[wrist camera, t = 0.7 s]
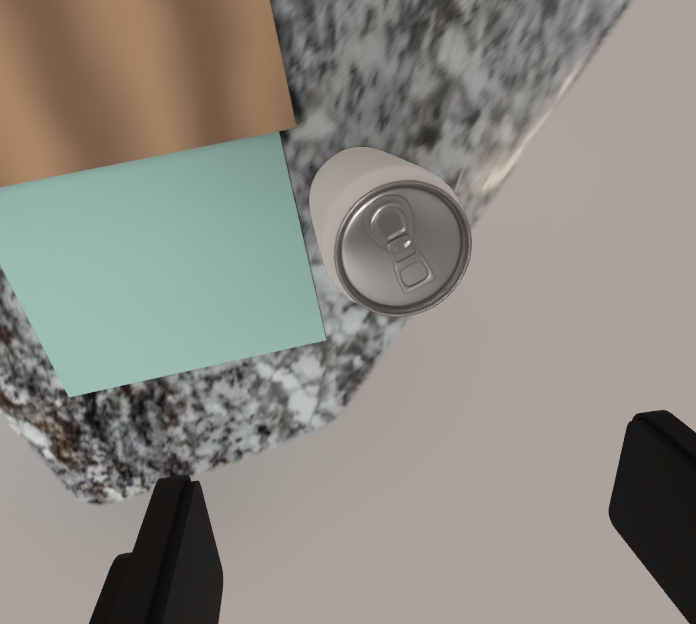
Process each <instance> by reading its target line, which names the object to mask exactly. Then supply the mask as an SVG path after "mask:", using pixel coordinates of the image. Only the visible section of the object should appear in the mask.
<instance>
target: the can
mask: <svg viewBox="0 0 696 624" xmlns="http://www.w3.org/2000/svg"><path fill="white" fill-rule="evenodd" d="M309 207H310V214H311V218H312V222H313V227H314V230H315V234H316V238H317V242H318V246H319V249H320V253H321V256H322V260H323V263H324V265H325V268H326V270H327V273H328V274H329V276H330V278H331V280H332V281H333V283H334V284H335V285H336V287H337V288H338V289H339V290H340V291H341V292H342V293H343V294H344V295H345V296H347V297H348V298H349V299H351V300H352V301H354V302H355V303H357V304H359V305H360V306H362V307H363V308H365V309H367V310H369V311H371V312H374V313H376V314H380V315H384V316H391V317H404V316H411V315H415V314H419V313H421V312H424V311H427V310H429V309H431V308H433V307H434V306H436V305H438V304H439V303H440V302H442V301H443V300H444V299H445V298H446V297H448V296H449V295H450V294H451V293H452V292H453V291H454V289H455V288H456V287H457V285H458V284H459V283H460V281H461V279H462V277H463V276H464V274H465V272H466V269H467V267H468V264H469V260H470V256H471V248H472V238H471V230H470V226H469V223H468V220H467V217H466V215H465V213H464V210H463V207H462V205H461V203H460V201H459V199H458V197H457V196H456V194H455V193H454V191H453V190H452V189H451V188H450V187H449V186H448V185H447V184H446V183H445V182H444V181H443V180H442V179H441V178H439V177H438V176H437V175H435V174H433V173H432V172H430V171H428V170H426V169H424V168H422V167H420V166H417V165H415V164H413V163H410V162H408V161H406V160H403V159H401V158H398V157H396V156H394V155H391V154H389V153H386V152H384V151H381V150H378V149H374V148H369V147H352V148H348V149H345V150H343V151H340V152H339V153H337V154H335V155H334V156H332V157H331V158H330V159H329V160H328V161H326V162H325V163H324V164H323V165H322V167H321V168H320V169H319V170H318V172H317V174H316V175H315V177H314V180H313V182H312V185H311V189H310V195H309Z"/></svg>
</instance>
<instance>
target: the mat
mask: <svg viewBox="0 0 696 624" xmlns="http://www.w3.org/2000/svg"><path fill="white" fill-rule="evenodd" d="M0 265H1V267H2V269H3V271H4V273H5V275H6V277H7V279H8V281H9V283H10V285H11V286H12V288H13V290H14V292H15V294H16V296H17V298H18V300H19V302H20V304H21V306H22V308H23V310H24V311H25V313H26V315H27V317H28V319H29V321H30V323H31V325H32V327H33V329H34V331H35V333H36V335H37V336H38V338H39V340H40V342H41V344H42V346H43V348H44V350H45V352H46V354H47V356H48V358H49V360H50V361H51V363H52V365H53V367H54V369H55V371H56V373H57V375H58V377H59V379H60V381H61V383H62V385H63V386H64V388H65V390H66V392H67V394H68V396H69V397H72V396H77V395H81V394H86V393H90V392H95V391H99V390H104V389H108V388H113V387H117V386H122V385H126V384H131V383H135V382H140V381H144V380H149V379H153V378H158V377H162V376H167V375H172V374H176V373H181V372H185V371H190V370H194V369H199V368H203V367H208V366H212V365H217V364H221V363H226V362H230V361H235V360H239V359H244V358H248V357H253V356H257V355H262V354H266V353H271V352H275V351H280V350H284V349H289V348H293V347H298V346H302V345H307V344H311V343H316V342H320V341H325V340H326V336H325V332H324V327H323V323H322V319H321V314H320V310H319V305H318V301H317V297H316V292H315V288H314V283H313V279H312V275H311V270H310V266H309V261H308V257H307V253H306V248H305V244H304V239H303V235H302V231H301V226H300V222H299V217H298V213H297V209H296V204H295V200H294V195H293V191H292V187H291V182H290V178H289V173H288V169H287V165H286V160H285V156H284V151H283V147H282V143H281V138H280V134H279V131H278V132H273V133H268V134H263V135H258V136H253V137H248V138H243V139H238V140H233V141H229V142H224V143H219V144H214V145H209V146H204V147H199V148H194V149H189V150H184V151H179V152H174V153H169V154H164V155H159V156H154V157H149V158H144V159H139V160H134V161H129V162H124V163H119V164H114V165H109V166H104V167H99V168H95V169H90V170H85V171H80V172H75V173H70V174H65V175H60V176H55V177H50V178H45V179H40V180H35V181H30V182H25V183H20V184H15V185H10V186H5V187H0Z"/></svg>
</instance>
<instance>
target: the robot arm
mask: <svg viewBox="0 0 696 624" xmlns="http://www.w3.org/2000/svg"><path fill="white" fill-rule="evenodd" d="M609 517H610V520H611V522H612V524H613V526H614V527H615V529H616V530H617V531H618V533H619V534H620V535H621V537H622V538H623V539H624V540H625V542H626V543H627V544H628V546H629V547H630V548H631V549H632V551H633V552H634V553H635V554H636V556H637V557H638V558H639V560H640V561H641V562H642V563H643V565H644V566H645V567H646V569H647V570H648V571H649V572H650V573H651V575H652V576H653V577H654V579H655V580H656V581H657V582H658V584H659V585H660V586H661V588H662V589H663V590H664V592H665V593H666V594H667V595H668V597H669V598H670V599H671V600H672V602H673V603H674V604H675V606H676V607H677V608H678V609H679V611H680V612H681V613H682V615H683V616H684V617H685V618H686V619H687V621H688V622H689V623H690V624H696V433H695V432H694V431H693V430H692V429H690V428H689V427H688V426H687V425H685V424H684V423H683V422H682V421H680V420H679V419H678V418H677V417H675V416H674V415H673V414H671V413H670V412H668V411H665V410H659V411H651V412H644V413H639V414H636V415H635V416H634V417H633V420H632V421H630V422H629V423H628V425H627V428H626V433H625V437H624V442H623V446H622V451H621V455H620V460H619V465H618V469H617V473H616V478H615V483H614V487H613V492H612V496H611V502H610V505H609ZM222 591H223V571H222V566H221V562H220V558H219V555H218V550H217V547H216V543H215V539H214V535H213V531H212V527H211V523H210V519H209V515H208V512H207V508H206V504H205V500H204V496H203V492H202V488H201V485H200V482H199V481H192V482H191V479H190V477H189V475H181V476H174V477H167V478H160V479H159V480H157V483H156V485H155V488H154V491H153V494H152V496H151V499H150V502H149V505H148V508H147V511H146V514H145V517H144V520H143V523H142V526H141V528H140V531H139V534H138V537H137V540H136V543H135V546H134V549H133V552H131V553H124V554H120V555H118V556H117V557H116V558H115V560H114V561H113V563H112V565H111V567H110V570H109V572H108V575H107V578H106V580H105V583H104V586H103V588H102V591H101V594H100V596H99V599H98V601H97V604H96V606H95V609H94V612H93V614H92V617H91V620H90V622H89V624H218V621H219V614H220V606H221V598H222Z"/></svg>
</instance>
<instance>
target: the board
mask: <svg viewBox="0 0 696 624" xmlns="http://www.w3.org/2000/svg"><path fill="white" fill-rule="evenodd" d="M293 128H297V127H296V122H295V117H294V113H293V108H292V103H291V98H290V94H289V89H288V84H287V79H286V75H285V70H284V65H283V61H282V56H281V51H280V46H279V42H278V37H277V32H276V28H275V23H274V18H273V13H272V9H271V4H270V0H0V187H5V186H10V185H15V184H20V183H25V182H30V181H35V180H40V179H45V178H50V177H55V176H60V175H65V174H70V173H75V172H80V171H85V170H90V169H95V168H99V167H104V166H109V165H114V164H119V163H124V162H129V161H134V160H139V159H144V158H149V157H154V156H159V155H164V154H169V153H174V152H179V151H184V150H189V149H194V148H199V147H204V146H209V145H214V144H219V143H224V142H229V141H233V140H238V139H243V138H248V137H253V136H258V135H263V134H268V133H273V132H278V131H283V130H288V129H293Z"/></svg>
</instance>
